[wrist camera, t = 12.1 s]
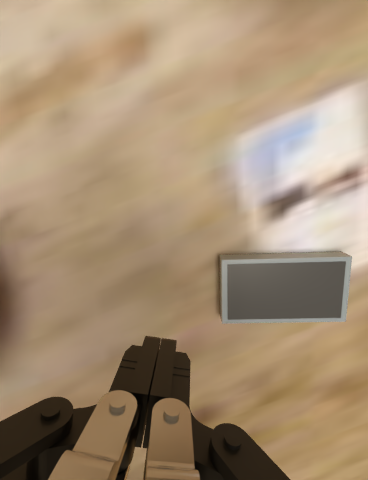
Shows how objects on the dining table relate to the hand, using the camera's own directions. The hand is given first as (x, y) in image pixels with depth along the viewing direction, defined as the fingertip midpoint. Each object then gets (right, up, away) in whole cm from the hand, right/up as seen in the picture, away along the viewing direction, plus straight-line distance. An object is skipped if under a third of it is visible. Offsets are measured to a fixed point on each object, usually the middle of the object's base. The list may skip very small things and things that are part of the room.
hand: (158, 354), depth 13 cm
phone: (+10, +1, +13) cm, 17 cm away
